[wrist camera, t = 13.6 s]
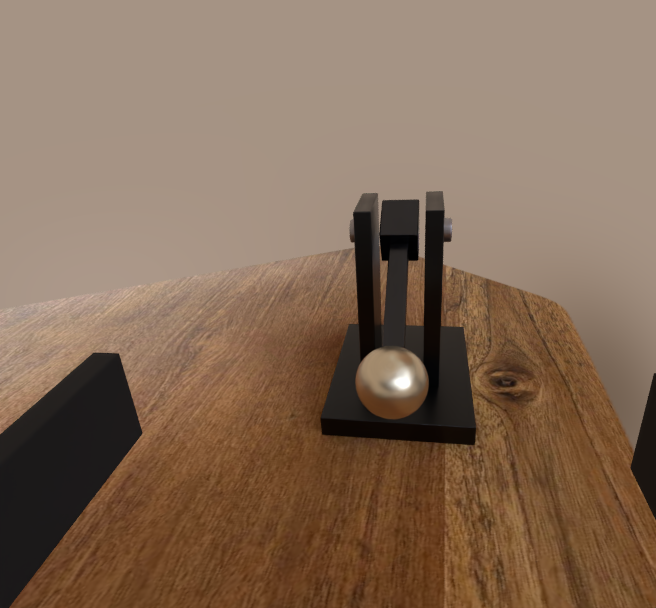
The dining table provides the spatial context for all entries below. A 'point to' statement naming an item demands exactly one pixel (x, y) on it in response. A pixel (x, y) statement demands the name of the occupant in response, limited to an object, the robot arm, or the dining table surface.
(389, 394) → the switch lever
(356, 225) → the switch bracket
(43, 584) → the dining table surface
